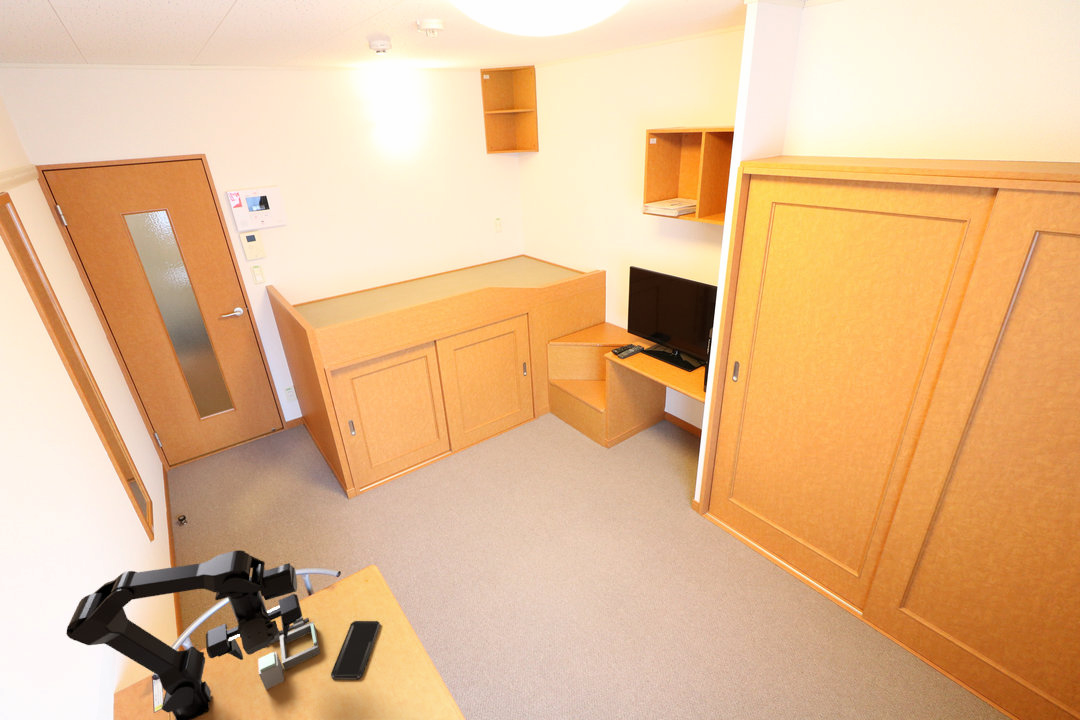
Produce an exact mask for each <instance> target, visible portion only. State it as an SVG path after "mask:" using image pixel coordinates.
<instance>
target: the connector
mask: <svg viewBox="0 0 1080 720" xmlns="http://www.w3.org/2000/svg"><path fill="white" fill-rule="evenodd" d="M257 663H258V664H257V665H258V676H259V677H260V678H259V679H260V680H261V682H262V684H263V687H264V688H265V690H268V689H270V688H272V687H275V686H277V685H279V684H282V683H283V682H285V678H284V677H285V675H284V667H283V664H282V661H281V660H280V657H279V655H278V652H277V651H275V652H274V651H272V652H270V653H267V654H266V655H263V656H261V657H259V658H258V659H257Z"/></svg>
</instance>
